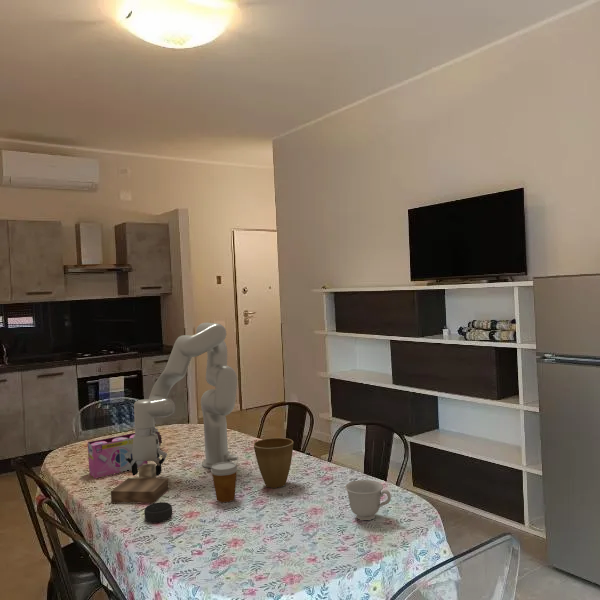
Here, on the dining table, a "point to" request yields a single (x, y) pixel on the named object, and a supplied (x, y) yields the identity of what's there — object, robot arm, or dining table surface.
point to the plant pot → (274, 460)
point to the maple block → (147, 471)
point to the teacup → (366, 498)
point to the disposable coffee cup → (224, 480)
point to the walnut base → (140, 490)
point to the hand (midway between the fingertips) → (146, 474)
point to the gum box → (110, 455)
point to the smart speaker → (158, 512)
